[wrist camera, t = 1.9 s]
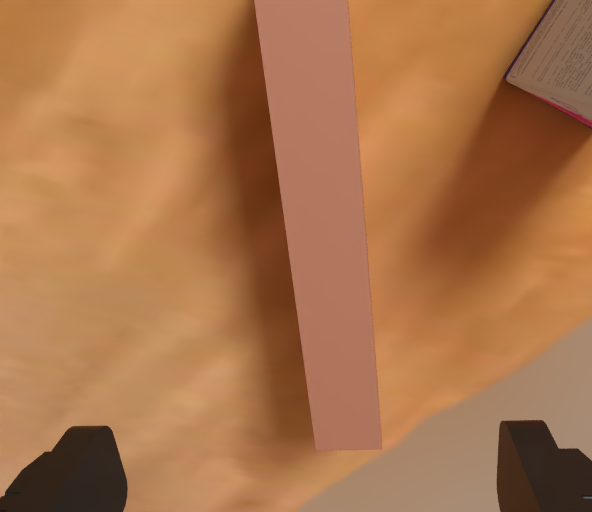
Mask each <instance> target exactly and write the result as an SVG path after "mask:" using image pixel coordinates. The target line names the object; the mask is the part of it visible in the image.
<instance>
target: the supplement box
mask: <svg viewBox="0 0 592 512" xmlns="http://www.w3.org/2000/svg"><path fill="white" fill-rule="evenodd" d="M504 80H505V81H507V82H509V83H511V84H513V85H515V86H517V87H519V88H521V89H523V90H525V91H526V92H528V93H530V94H532V95H534V96H536V97H537V98H539V99H541V100H543V101H545V102H546V103H548V104H550V105H552V106H554V107H555V108H557V109H559V110H561V111H563V112H565V113H566V114H568V115H570V116H572V117H573V118H575V119H577V120H579V121H580V122H582V123H583V124H585V125H587V126H588V127H590V128H591V129H592V0H553V1H552V3H551V4H550V6H549V8H548V9H547V11H546V12H545V14H544V15H543V17H542V19H541V20H540V22H539V23H538V25H537V26H536V28H535V29H534V31H533V32H532V34H531V35H530V37H529V38H528V40H527V41H526V43H525V44H524V46H523V47H522V49H521V50H520V52H519V54H518V55H517V57H516V58H515V60H514V61H513V63H512V64H511V66H510V67H509V69H508V71H507V72H506V74H505V76H504Z"/></svg>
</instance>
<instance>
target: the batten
mask: <svg viewBox="0 0 592 512" xmlns="http://www.w3.org/2000/svg"><path fill="white" fill-rule="evenodd" d="M254 3H255V10H256V18H257V25H258V32H259V40H260V47H261V54H262V61H263V69H264V76H265V83H266V91H267V98H268V105H269V112H270V120H271V127H272V134H273V142H274V149H275V156H276V163H277V171H278V178H279V185H280V193H281V200H282V207H283V214H284V222H285V229H286V236H287V244H288V251H289V258H290V265H291V273H292V280H293V287H294V295H295V302H296V309H297V316H298V324H299V331H300V338H301V346H302V353H303V360H304V368H305V375H306V382H307V389H308V397H309V404H310V411H311V419H312V426H313V433H314V440H315V448H316V451H334V450H376V449H382V437H381V424H380V410H379V396H378V383H377V369H376V356H375V343H374V330H373V318H372V305H371V292H370V279H369V266H368V253H367V240H366V227H365V214H364V201H363V188H362V175H361V162H360V149H359V136H358V124H357V111H356V98H355V85H354V72H353V59H352V46H351V33H350V20H349V7H348V0H254Z"/></svg>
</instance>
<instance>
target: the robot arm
mask: <svg viewBox="0 0 592 512" xmlns="http://www.w3.org/2000/svg"><path fill="white" fill-rule="evenodd" d="M497 494H498V501H499V507H500V511H501V512H592V461H591V460H590V459H589V458H588V457H586V455H584V454H583V453H582V452H581V451H580V450H579V449H558V447H557V445H556V443H555V441H554V439H553V437H552V435H551V433H550V431H549V429H548V427H547V425H546V424H545V422H544V421H542V420H524V421H502V422H501V423H500V428H499V446H498V466H497ZM126 499H127V479H126V476H125V472H124V469H123V465H122V462H121V459H120V455H119V452H118V448H117V445H116V441H115V438H114V435H113V432H112V430H111V429H110V427H108V426H73V427H71V428H69V429H68V430H67V431H66V432H65V434H64V435H63V436H62V438H61V439H60V440H59V442H58V443H57V444H56V446H55V447H54V448H53V450H52V451H51V452H44V453H43V454H42V455H41V456H39V457H38V458H37V459H36V460H34V461H33V462H32V463H31V464H29V465H28V466H27V467H26V468H24V469H23V470H22V471H21V472H20V473H19V475H18V476H17V477H16V479H15V480H14V481H13V482H12V484H11V485H10V486H9V488H8V489H7V490H6V492H5V496H2V497H1V498H0V512H123V510H124V507H125V504H126Z"/></svg>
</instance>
